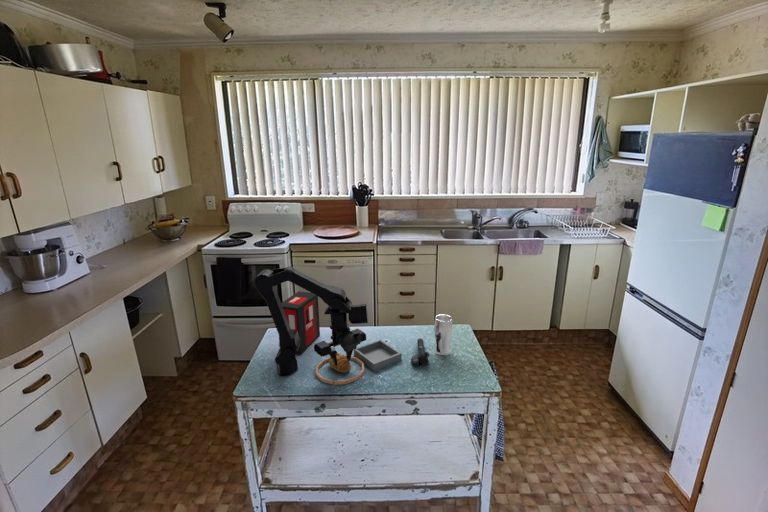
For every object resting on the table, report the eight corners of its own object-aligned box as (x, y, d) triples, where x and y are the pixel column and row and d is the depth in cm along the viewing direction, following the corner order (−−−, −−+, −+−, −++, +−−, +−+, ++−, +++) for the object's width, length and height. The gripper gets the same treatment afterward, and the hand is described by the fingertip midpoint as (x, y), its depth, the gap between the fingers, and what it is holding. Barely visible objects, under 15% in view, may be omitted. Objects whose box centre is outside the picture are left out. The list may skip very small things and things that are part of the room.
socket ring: (330, 390, 131) (330, 387, 131) (308, 367, 145) (307, 364, 144) (373, 373, 141) (373, 370, 141) (348, 353, 154) (348, 350, 154)
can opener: (429, 369, 143) (430, 355, 142) (410, 368, 144) (410, 355, 143) (429, 346, 160) (429, 333, 159) (412, 345, 161) (412, 332, 160)
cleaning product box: (301, 334, 171) (298, 291, 166) (320, 336, 168) (317, 293, 163) (281, 352, 156) (277, 305, 150) (300, 355, 153) (297, 308, 148)
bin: (374, 371, 142) (374, 364, 141) (354, 355, 153) (353, 348, 152) (401, 360, 149) (401, 353, 148) (380, 346, 160) (380, 339, 159)
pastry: (355, 370, 143) (355, 360, 142) (339, 376, 139) (340, 366, 138) (341, 359, 150) (341, 350, 149) (326, 364, 146) (326, 355, 145)
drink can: (454, 355, 153) (456, 319, 149) (438, 358, 150) (440, 322, 146) (445, 347, 159) (446, 313, 155) (430, 350, 157) (431, 315, 153)
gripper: (326, 340, 126) (330, 382, 131) (373, 323, 137) (375, 363, 141) (311, 328, 135) (315, 368, 139) (356, 313, 145) (359, 351, 150)
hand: (342, 362), depth 142 cm, fingers open, 5 cm apart
